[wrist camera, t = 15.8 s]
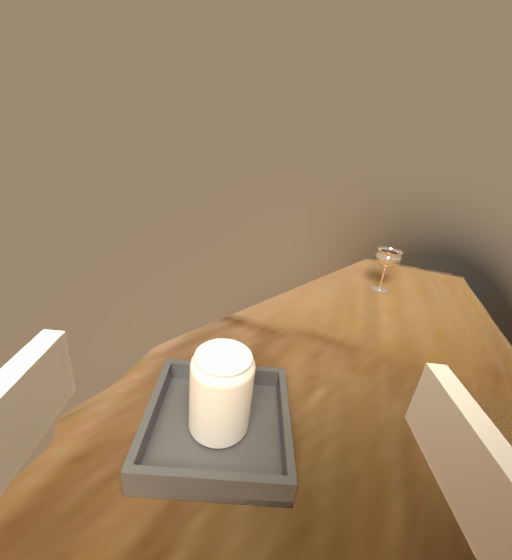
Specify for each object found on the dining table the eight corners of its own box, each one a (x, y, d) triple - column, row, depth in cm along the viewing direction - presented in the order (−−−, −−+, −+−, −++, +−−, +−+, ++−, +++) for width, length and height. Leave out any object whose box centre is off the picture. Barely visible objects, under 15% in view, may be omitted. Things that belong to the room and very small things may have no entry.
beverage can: (220, 394, 50) (225, 329, 45) (259, 427, 45) (270, 357, 40) (176, 424, 44) (176, 353, 39) (216, 464, 40) (221, 389, 35)
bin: (281, 387, 54) (284, 368, 52) (292, 507, 37) (297, 485, 35) (166, 377, 53) (166, 358, 52) (122, 496, 36) (120, 472, 34)
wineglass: (364, 289, 93) (375, 250, 88) (369, 282, 99) (379, 244, 94) (389, 296, 91) (401, 256, 86) (392, 288, 96) (404, 250, 91)
